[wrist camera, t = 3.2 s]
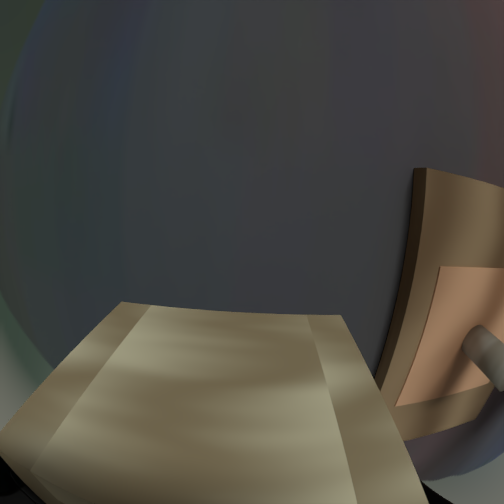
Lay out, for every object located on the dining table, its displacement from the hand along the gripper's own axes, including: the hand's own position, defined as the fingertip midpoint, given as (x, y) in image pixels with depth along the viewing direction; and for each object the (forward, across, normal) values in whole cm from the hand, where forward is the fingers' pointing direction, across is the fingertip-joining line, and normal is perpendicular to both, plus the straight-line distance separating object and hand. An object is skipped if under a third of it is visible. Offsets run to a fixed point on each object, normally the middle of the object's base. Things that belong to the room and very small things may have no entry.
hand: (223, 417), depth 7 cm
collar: (+1, 0, 0) cm, 1 cm away
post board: (+6, -14, +1) cm, 16 cm away
